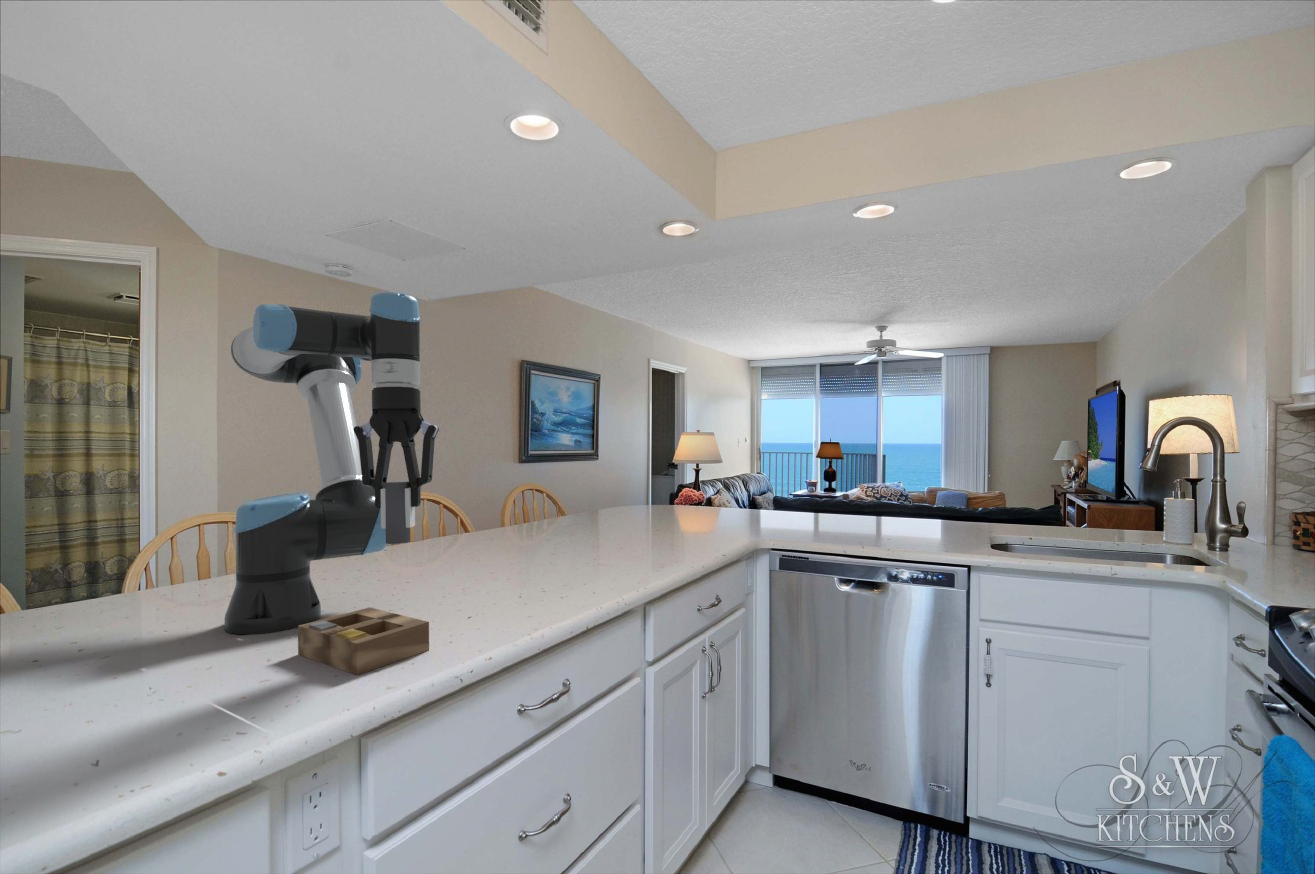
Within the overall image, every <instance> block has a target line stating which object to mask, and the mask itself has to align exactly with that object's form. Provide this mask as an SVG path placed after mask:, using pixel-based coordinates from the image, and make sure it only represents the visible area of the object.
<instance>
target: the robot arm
mask: <svg viewBox="0 0 1315 874" xmlns="http://www.w3.org/2000/svg"><path fill="white" fill-rule="evenodd" d="M419 306H420V305H419V301H418V300H417V299H416V298H415V297H414V296H412V295H409V294H405V293H400V292H399V293H398V292H378V293H375V294H373V295H372V297H371V299H370V307H369V313H370V315H364V314H363V315H362V314H361V315H360V314H354V313H347V312H336V311H329V310H327V311H325V310H319V309H313V308H311V309H309V308H303V307H297V306H296V307H295V306H288V305H286V304H265V303H264V304H259V305H258V306H257V307H256V308H255V311H254V315H253V321H252V322H253V325H252V327H247V328H245V329H243V330H242V331H240V332H239V333H237V335H236V336H234V339H233V340H232V342H231V345H230V355H231V357H232V360H233V362H234V363H235V365H236V367H238V368H239V369H241V370H242V371H243V372H244V373H246V374H248V375H249V376H252V377H255V378H257V379H261V380H263V381H267V382H273V383H282V384H283V383H284V384H296V389H297V391H298V393H299V395H301V396H302V397H304V398H306V400H307V404H308V412H309V417H310V423H311V429H312V434H313V440H314V441H313V442H314V447H315V452H316V453H315V454H316V459H317V464H318V470H319V475H320V483H321V488H320V489H318V490H317V492H316V494H315V499H312V498H311V497H310V495H309V494H308V493H307V492H295V493H286V494H285V493H284V494H279V495H278V494H277V495H273V496H266V497H262V498H257V499H254V500H249V501H247V502H244V503H242V504H241V505H240V506H239V507H238V508H237V509H236V515H235V525H234V526H235V528H234V533H235V587H234V590H233V592H232V595H231V597H230V600H229V603H228V606H227V610H226V612H225V615H224V620H223V621H224V631H225V632H227V633H229V634H234V635H235V634H236V635H259V634H269V633H270V634H271V633H275V632H276V633H277V632H283V631H287V630H292V629H296V628H298V626H299V625H303V624H307V623H311V622H315V621H318V619H319V620H320V617H321V616H322V615H321V614H322V611H321V610H322V609H321V608H322V606H321V601H320V599H319V596H318V593H317V591H316V589H315V585H314V584H313V581H312V579H311V562H312V561H320V560H329V559H336V558H344V557H345V558H346V557H352V556H353V557H354V556H364V555H368V554H372V553H378V552H381V551H383V550H385V548H386V547H387V546H388V544H386V531H385V528H386V510H385V483H386V482H388V475H389V470H390V463H391V455H392V449H393V447H394V443H400V445H401V448H402V451H403V456H404V463H405V468H406V472H407V478H408V482H409V485H408V486H409V488H405V516H406V528H410V529H411V528H413V527H415V526H416V508H417V507H419V506H421V501H422V499H421V495H422V494H421V488H422V486H424V485H427V484H429V483H431V482H432V481H433V471H434V470H433V469H434V454H435V439H436V438H437V436H438V433H439V430H440V428H439V426H438V425H436V424H431V423H429V422H426V421H425V419H424V418H423V417H424V416H422V413H421V411H422V409H421V406H422V405H421V402H422V401H421V390H420V389H419V388H417V387H418V386H420V385H421V367H420V366H421V365H420V364H421V362H420V361H421V360H420V357H421V350H420V349H421V347H420V342H421V340H420V339H421V338H420V337H421V336H420V331H421V330H420V328H421V326H420V323H421V317H420V309H419ZM362 361H364V362H371V384H372V385H374V386H375V387H373V388H372V389H371V410H372V413H371V416H370V418H369V421H368V422H366V423H365V424H362V425H357V424H358V423H357V419H356V416H355V414H356V413H355V409H354V406H353V405H354V404H353V401H352V395H351V393H352V392H353V391H354V390H355V388H356V385H358V384H359V382H360V380H361V378H362V370H363V369H362V364H361V363H362ZM420 430H421V433H422V435H423V440H422V453H421V468H420V469H421V470H419V465H418V464H419V463H418V459H417V457H418V456H417V454H416V453H417V452H416V448H415V447H416V443H415V436H416V435H417V434H418V432H419V431H420ZM372 431H374V432H375V434H377V436H378V437H379V441H378V447H379V448H378V455H377V460H376V461H377V462H376V467H375V462H374V453H373V444H372V443H373V442H372V438H371V437H372V435H373V432H372ZM375 468H376V469H375Z"/></svg>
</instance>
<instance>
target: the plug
mask: <svg viewBox="0 0 1315 874" xmlns="http://www.w3.org/2000/svg"><path fill="white" fill-rule="evenodd" d="M408 485H409V481H391V482H389V481H387V482H386V483H385V510H386V528H385V531H386V544H387V545H395V544H397V545H399V544H407V543H410V542H411V527H410V528H406V516H405V488H409V486H408Z"/></svg>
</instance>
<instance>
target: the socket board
mask: <svg viewBox="0 0 1315 874" xmlns="http://www.w3.org/2000/svg"><path fill="white" fill-rule="evenodd" d="M428 651H430V622H429V620H428V621H427V620H423V619H419V618H416V617H415V618H414V617H410V616H406V615H402V614H398V613H395V612H390V611H386V610H381V609H377V608H373V607H366V608H361V609H358V610H354V611H351V612H347V613H343V614H338V615H335V616H330V617H326V618H323V619H319V620H318V619H317V620H316V621H314V622H311V623H307V624H303V625H299V626H298V627H297V652H298V653H297V654H298V655H299V656H302V657H304V658H308V659H311V660H312V661H316V662H319V663H321V664H325V665H327V666H329V667H332V668H336V669H338V670H341V671H345V672H348V673H349V674H353V675H356V676H360V675H362V674H365V673H368V672H370V671H373V670H376V669H379V668H383V667H385V666H388V665H391V664H394V663H396V662H400V661H402V660H406V659H408V658H411V657H413V656H416V655H419V654H422V653H424V652H428Z"/></svg>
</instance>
